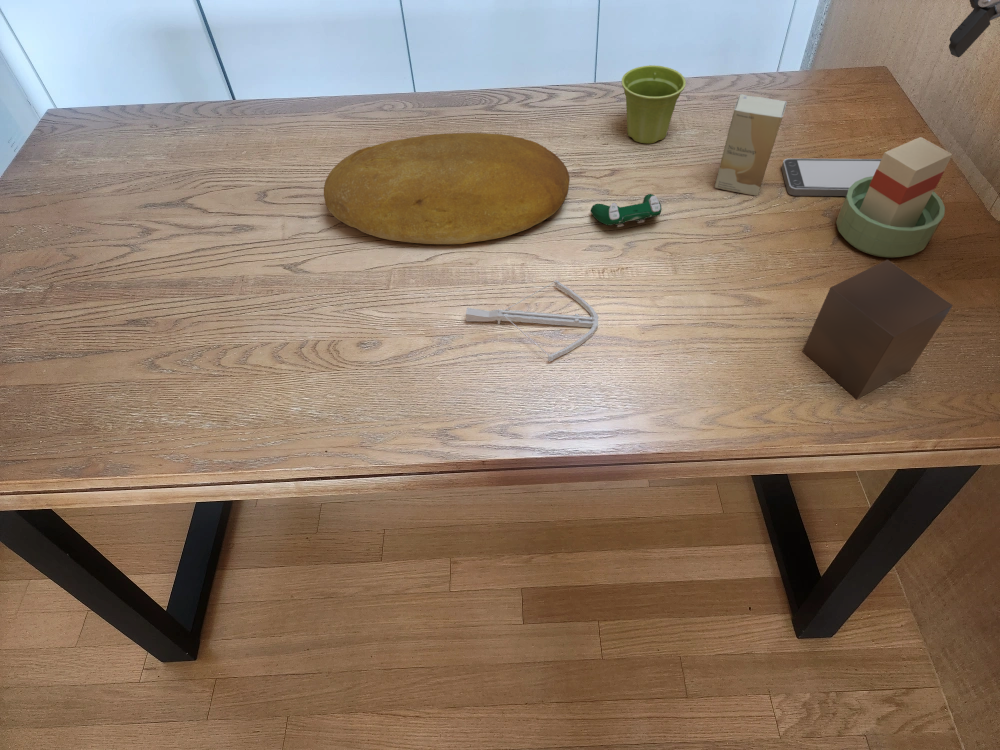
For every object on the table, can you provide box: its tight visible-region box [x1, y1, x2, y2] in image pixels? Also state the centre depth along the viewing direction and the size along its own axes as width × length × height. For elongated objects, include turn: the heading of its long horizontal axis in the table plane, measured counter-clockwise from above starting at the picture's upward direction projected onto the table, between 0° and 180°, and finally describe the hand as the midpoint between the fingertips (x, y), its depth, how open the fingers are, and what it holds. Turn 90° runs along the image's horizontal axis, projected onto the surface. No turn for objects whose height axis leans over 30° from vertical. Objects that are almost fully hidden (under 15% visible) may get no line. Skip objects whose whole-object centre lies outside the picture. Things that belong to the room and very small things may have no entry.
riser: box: [802, 259, 953, 400], centre depth 70 cm, size 8×8×10 cm
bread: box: [323, 132, 570, 245], centre depth 92 cm, size 18×35×10 cm, turn 93°
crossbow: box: [465, 280, 599, 362], centre depth 80 cm, size 16×13×2 cm
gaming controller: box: [590, 193, 662, 228], centre depth 91 cm, size 9×4×6 cm
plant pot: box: [621, 64, 687, 145], centre depth 102 cm, size 9×9×9 cm
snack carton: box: [859, 136, 954, 228], centre depth 82 cm, size 5×6×11 cm
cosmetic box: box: [714, 93, 788, 197], centre depth 91 cm, size 6×4×12 cm
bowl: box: [835, 176, 946, 259], centre depth 85 cm, size 11×11×5 cm
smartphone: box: [780, 158, 882, 197], centre depth 94 cm, size 7×1×15 cm
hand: (993, 69), depth 61 cm, fingers open, 8 cm apart
